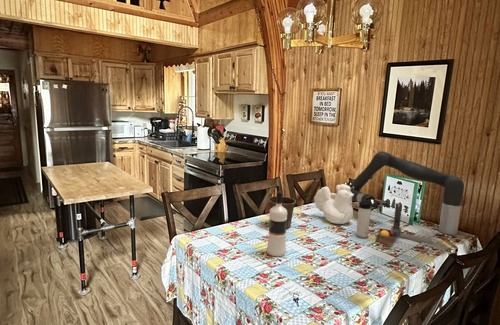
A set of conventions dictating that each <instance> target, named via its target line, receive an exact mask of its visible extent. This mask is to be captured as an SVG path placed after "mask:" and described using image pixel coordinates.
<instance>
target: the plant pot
mask: <svg viewBox="0 0 500 325" xmlns="http://www.w3.org/2000/svg"><path fill="white" fill-rule="evenodd" d="M276 198H277V195H276V196H269V197H268V199H267V200H268V207H269V210H270V209H271V208H272V207H274V206H276ZM296 203H297V200H295V199H294V198H292V197H288V196H283V195H282V207H284V208H285V209H286V210H287V220H286V230H288V229H291V227H292V226H291V225H292V220H293V214H294V209H295V205H296Z"/></svg>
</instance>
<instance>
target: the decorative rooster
mask: <svg viewBox="0 0 500 325" xmlns="http://www.w3.org/2000/svg"><path fill="white" fill-rule="evenodd" d="M350 188H351V186H350V185H347V184H345V183H342V184H337V185H336V186H335V189H336V193H335V192H331V191H330V188H329V187H328V186H324V187H321V189H318V190H317V191H316V194H315V195H314V203H315V206H316V208H318V211H320V212H322V213H323V216H324V217H325V219H326V220H327V221H328V222H329V223H331V224H337V225H344V224H347V223H349V222H350V221H351V220H352V219H353V216H354V208H353V199H352V197H353V195H354V194H353V193H351V191H350ZM333 196H334V198H333Z"/></svg>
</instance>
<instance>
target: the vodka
mask: <svg viewBox="0 0 500 325" xmlns="http://www.w3.org/2000/svg"><path fill="white" fill-rule="evenodd" d="M276 196H277V198H276V206H274V207H272V208H271V209H270V208H269V219H268V220H269V222H268V223H269V224H268V240H267V246H266V252H267V254H268V255H270V256H271V257H283V256H285V255H286V253H287V246H286V242H287V241H286V238H287V229H286V220H287V210H286V209H285V208H284V207H282V196H283V192H282V191H276Z"/></svg>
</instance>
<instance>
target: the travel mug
mask: <svg viewBox="0 0 500 325" xmlns="http://www.w3.org/2000/svg"><path fill="white" fill-rule="evenodd" d="M371 204H372V202H369V201H362V202H360V203H359V202H358V209H357V210H358V211H357V223H356V234H355V235H356V237H358V238H359V239H368V237H369V229H370V220H371V211H372V207H371Z"/></svg>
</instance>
